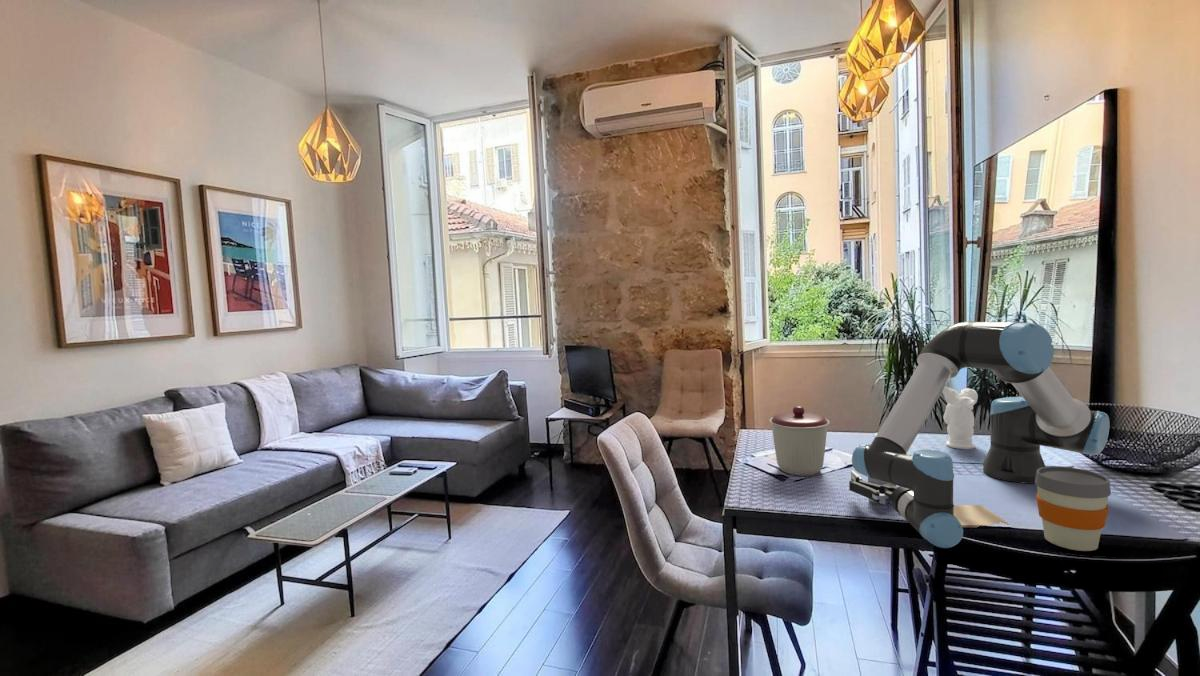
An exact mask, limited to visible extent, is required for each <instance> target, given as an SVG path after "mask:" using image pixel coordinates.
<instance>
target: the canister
mask: <svg viewBox="0 0 1200 676" xmlns="http://www.w3.org/2000/svg"><path fill="white" fill-rule="evenodd" d="M768 422H769V424H770V425H771V429H772V431H771V432H772V439H773V445H774V450H775V458H776V462H777V465H778V468H779V469H780V470H781V471H782V472H784V473H786V474H788V475H791V476H792V475H793V476H800V477H801V476H802V477H805V476H813V475H814V476H815V475H817V474H818V473H820V472H821V471H822V469H823V466H824V461H825V455H826V444H827V443H826V442H827V434H828V426H829V425H830V420H829V419H827V418H826V417H824V416H823V415H820V414H817V413H812V412H805V409H804V407H803V406H801V405H796V406H794V407H793V408H792V411H791V412H790V411H788V412H781V413H778V414H775V415H774V416H772V417H770V418H769V419H768Z"/></svg>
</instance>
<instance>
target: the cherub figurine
mask: <svg viewBox="0 0 1200 676" xmlns="http://www.w3.org/2000/svg"><path fill="white" fill-rule="evenodd" d="M960 390H961V391H960V393H959V391H958V390H956V389H954V388H951V387H949V386H947V385H946V386H945V387H944V389H943V391H942V394H943V397H944V399H945V401H946V403H947V404H946V406H945V410H944V411H945V412H944V413H943V416H942V418H943V421H944V423H945V424H946V425H947V427H946V430H947V432H946V433H947V435H948V436H949V437H948V441H946V442H945V443H946V444H945V445H946V446H947V447H949V448H951V449H952V448H953V449H958V450H972V449H975V448H976V444H975V443H974V442H973V441H974V440H973V439H972V438H973V436H974V433H975V429H974V427H975V415H974V411H973V410H974V405H975V404H977V402H978V398H979V394H978V392H977V391H976V390H975V389H973V388H970V387H965V388H963V389H960Z"/></svg>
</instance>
